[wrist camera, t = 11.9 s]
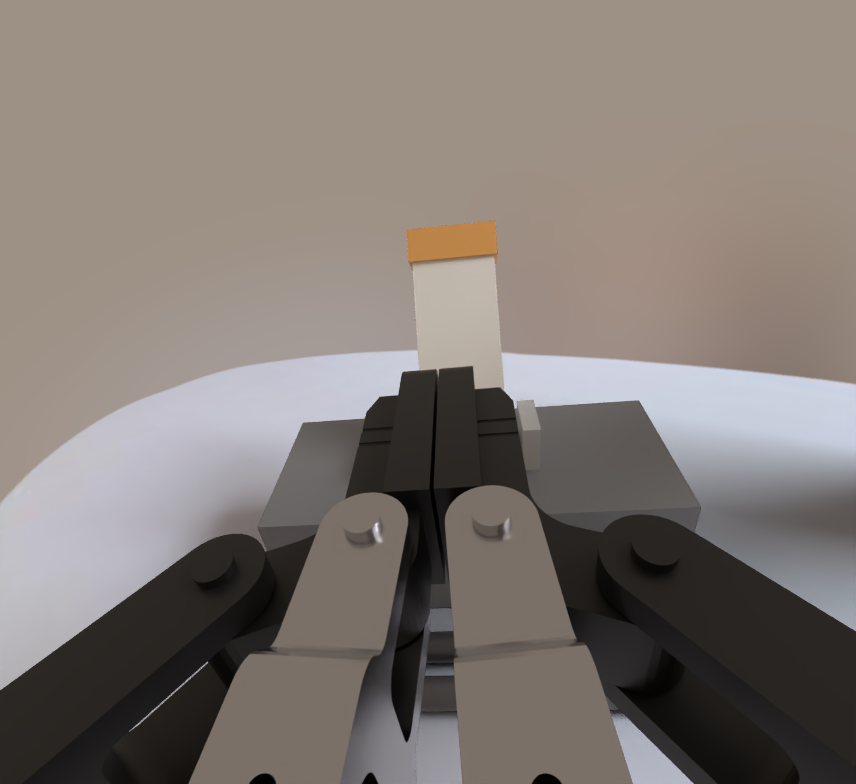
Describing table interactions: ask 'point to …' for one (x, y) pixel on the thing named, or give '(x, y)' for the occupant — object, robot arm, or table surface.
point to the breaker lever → (457, 299)
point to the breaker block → (547, 478)
